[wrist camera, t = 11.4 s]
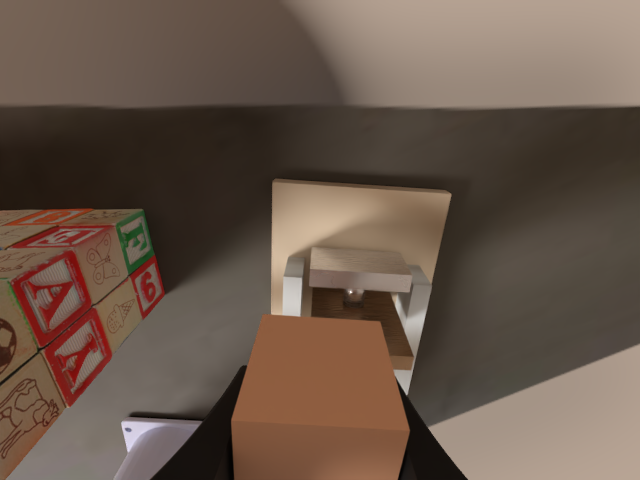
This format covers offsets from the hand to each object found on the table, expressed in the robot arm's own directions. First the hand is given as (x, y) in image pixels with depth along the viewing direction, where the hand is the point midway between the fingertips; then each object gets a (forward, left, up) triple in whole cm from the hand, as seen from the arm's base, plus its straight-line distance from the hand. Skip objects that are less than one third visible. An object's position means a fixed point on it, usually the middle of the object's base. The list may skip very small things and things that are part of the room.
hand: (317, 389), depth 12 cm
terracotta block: (0, 0, -1) cm, 1 cm away
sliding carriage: (+1, -2, -8) cm, 8 cm away
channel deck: (-2, -2, -9) cm, 10 cm away
